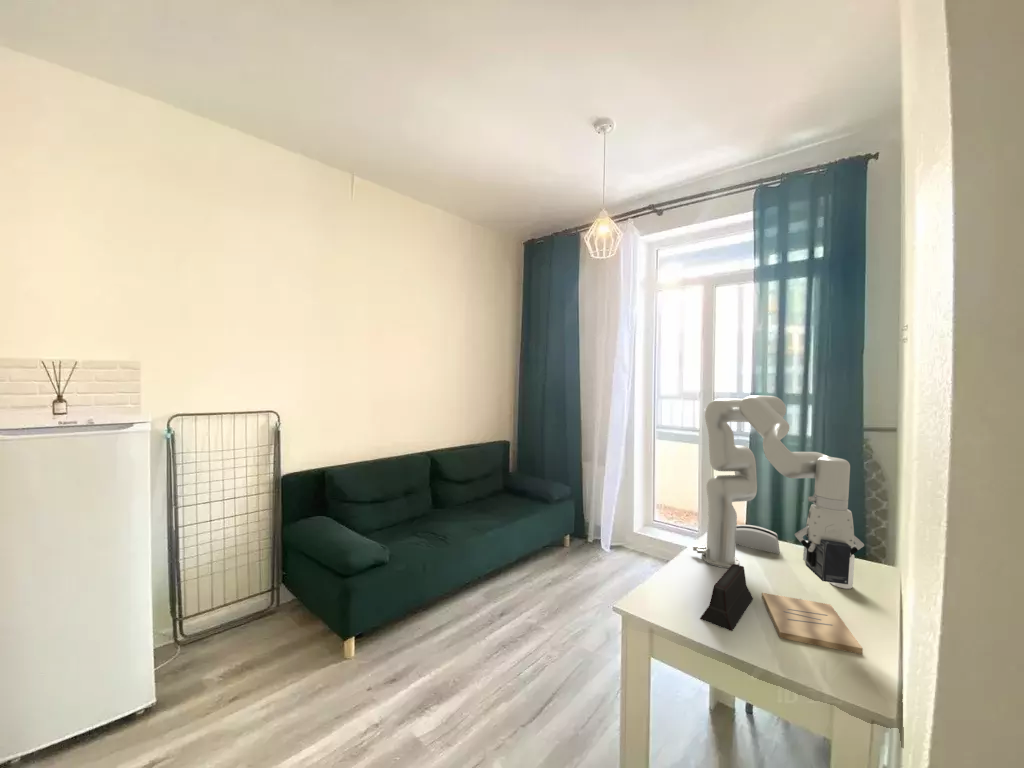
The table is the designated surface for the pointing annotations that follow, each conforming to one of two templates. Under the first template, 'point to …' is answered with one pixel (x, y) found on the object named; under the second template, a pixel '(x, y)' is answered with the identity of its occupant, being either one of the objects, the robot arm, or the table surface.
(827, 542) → the small box
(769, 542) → the white arched block
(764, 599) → the board
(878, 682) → the table surface
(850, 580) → the can
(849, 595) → the table surface
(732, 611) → the barrier
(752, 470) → the robot arm
